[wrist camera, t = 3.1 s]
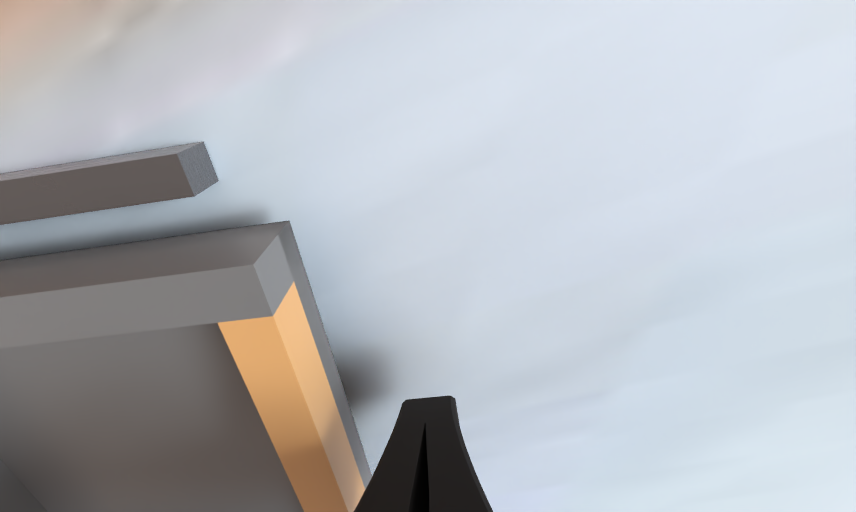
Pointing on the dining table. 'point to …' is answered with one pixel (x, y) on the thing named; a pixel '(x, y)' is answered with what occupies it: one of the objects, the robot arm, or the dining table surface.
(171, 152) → the track
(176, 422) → the grey shallow tray
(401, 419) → the robot arm
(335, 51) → the dining table surface
